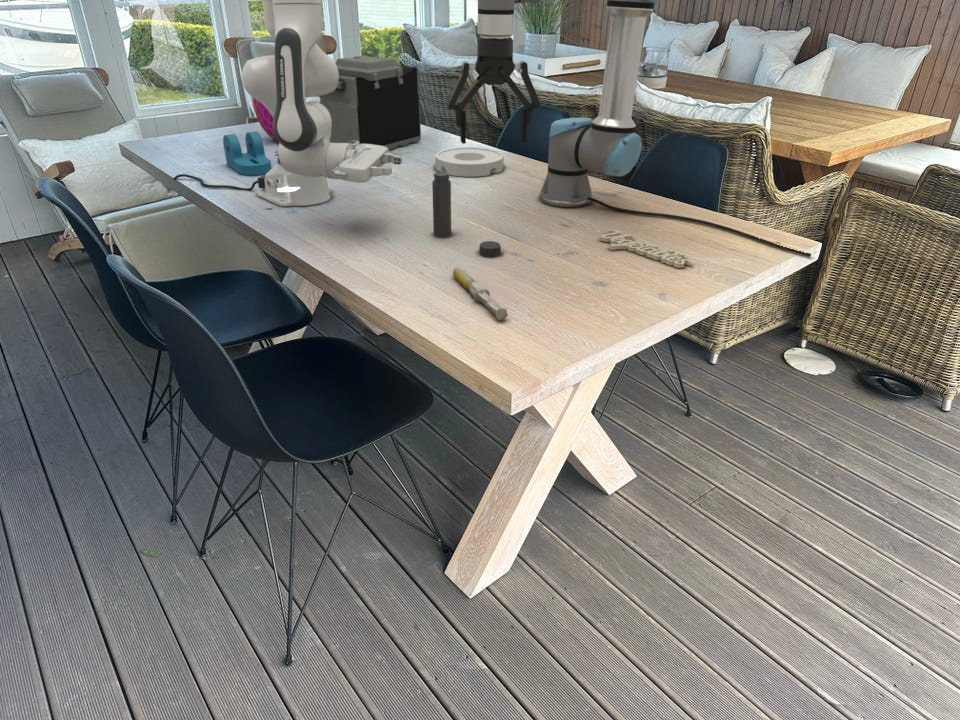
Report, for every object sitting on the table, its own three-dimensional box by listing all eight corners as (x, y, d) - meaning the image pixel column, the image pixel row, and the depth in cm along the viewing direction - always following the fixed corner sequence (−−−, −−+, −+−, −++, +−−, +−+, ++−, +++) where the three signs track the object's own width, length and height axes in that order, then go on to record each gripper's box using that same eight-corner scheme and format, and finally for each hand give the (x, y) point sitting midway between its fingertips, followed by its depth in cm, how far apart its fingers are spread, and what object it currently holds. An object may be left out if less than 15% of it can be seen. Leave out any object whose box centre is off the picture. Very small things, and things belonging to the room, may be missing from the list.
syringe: (449, 274, 155) (449, 263, 153) (465, 272, 156) (464, 260, 154) (490, 323, 135) (491, 310, 133) (508, 319, 136) (508, 307, 134)
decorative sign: (586, 237, 174) (611, 228, 179) (586, 240, 174) (611, 231, 180) (674, 268, 157) (698, 257, 162) (673, 272, 157) (698, 261, 163)
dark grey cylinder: (447, 230, 180) (446, 170, 172) (454, 236, 176) (453, 175, 168) (430, 232, 178) (429, 172, 170) (437, 238, 175) (436, 177, 167)
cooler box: (383, 133, 276) (378, 52, 261) (425, 141, 265) (422, 56, 250) (314, 150, 251) (304, 61, 235) (358, 160, 240) (350, 67, 224)
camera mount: (227, 164, 233) (221, 132, 227) (257, 160, 238) (252, 129, 233) (244, 176, 220) (239, 143, 215) (276, 172, 225) (271, 139, 220)
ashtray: (438, 158, 243) (438, 146, 241) (503, 159, 243) (503, 147, 241) (432, 176, 223) (431, 163, 221) (503, 177, 223) (503, 165, 221)
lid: (493, 258, 163) (493, 250, 162) (475, 254, 166) (475, 245, 165) (504, 252, 167) (504, 243, 166) (486, 247, 170) (486, 239, 168)
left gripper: (327, 160, 162) (383, 165, 160) (355, 138, 179) (406, 142, 177) (329, 186, 166) (384, 191, 164) (356, 162, 183) (407, 166, 181)
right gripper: (549, 34, 147) (543, 136, 158) (433, 35, 144) (435, 138, 155) (558, 38, 141) (551, 143, 152) (437, 38, 137) (439, 146, 148)
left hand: (396, 165), depth 171 cm, fingers open, 8 cm apart
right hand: (493, 141), depth 153 cm, fingers open, 13 cm apart
